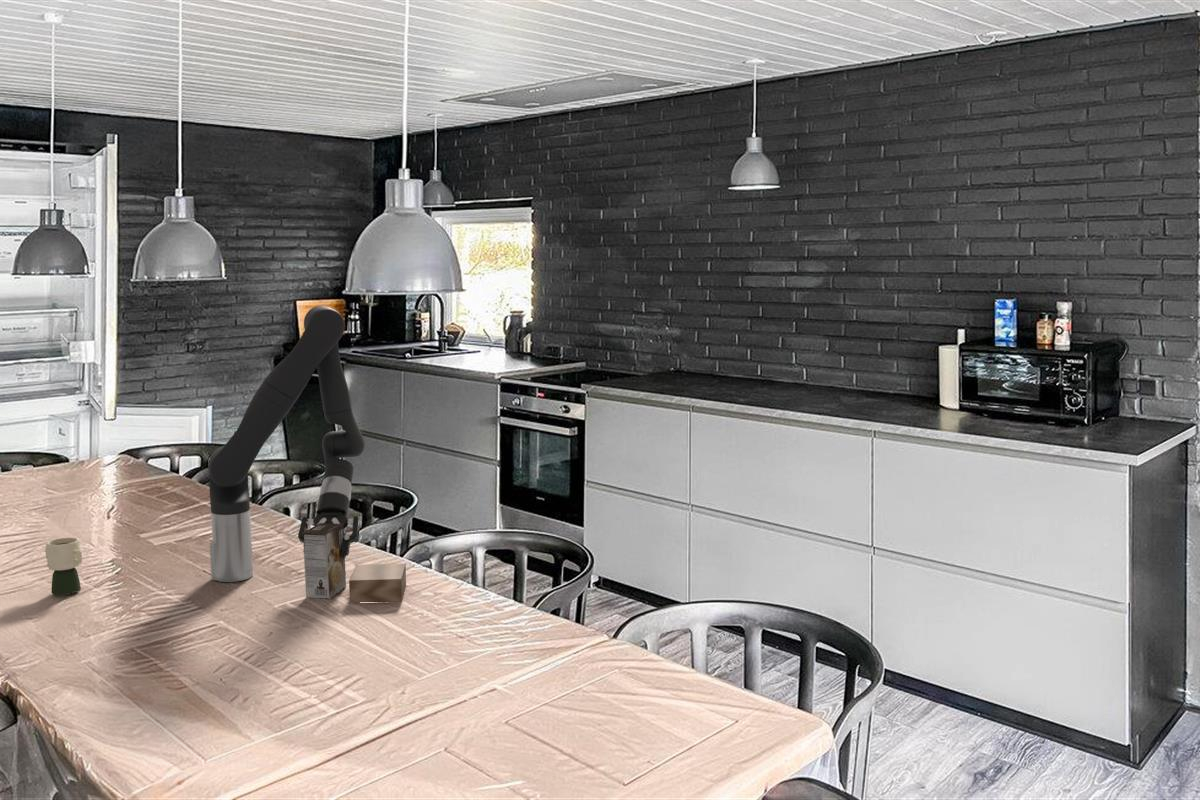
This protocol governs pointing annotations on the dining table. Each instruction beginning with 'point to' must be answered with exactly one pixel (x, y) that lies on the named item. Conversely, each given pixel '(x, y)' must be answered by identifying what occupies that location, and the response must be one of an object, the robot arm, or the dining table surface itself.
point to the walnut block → (377, 583)
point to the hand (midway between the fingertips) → (325, 556)
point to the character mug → (64, 564)
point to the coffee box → (324, 560)
